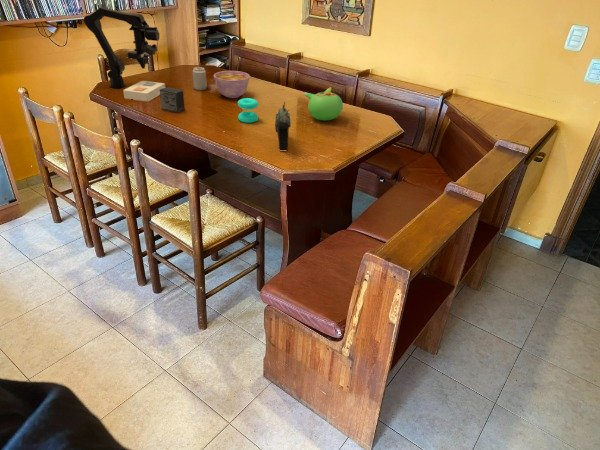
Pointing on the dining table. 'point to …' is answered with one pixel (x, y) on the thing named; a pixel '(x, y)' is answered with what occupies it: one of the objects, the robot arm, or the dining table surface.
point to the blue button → (149, 84)
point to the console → (143, 95)
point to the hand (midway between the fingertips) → (143, 68)
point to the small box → (172, 99)
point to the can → (199, 78)
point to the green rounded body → (324, 105)
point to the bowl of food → (231, 83)
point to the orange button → (139, 89)
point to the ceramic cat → (283, 127)
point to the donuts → (248, 105)
